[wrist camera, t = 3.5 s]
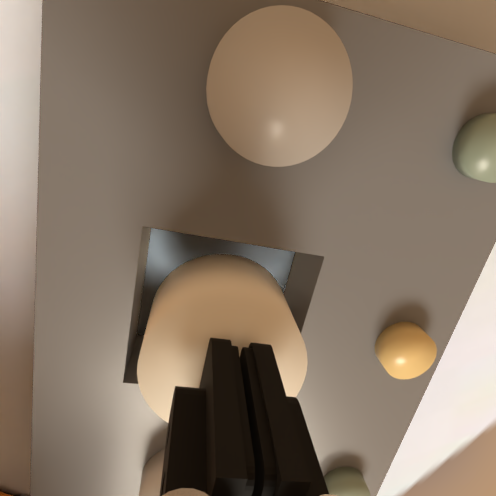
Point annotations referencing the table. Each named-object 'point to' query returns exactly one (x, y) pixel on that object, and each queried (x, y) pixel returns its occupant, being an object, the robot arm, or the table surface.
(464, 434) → the table surface
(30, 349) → the table surface
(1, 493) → the multimeter
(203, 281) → the button
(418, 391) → the grey flat block
